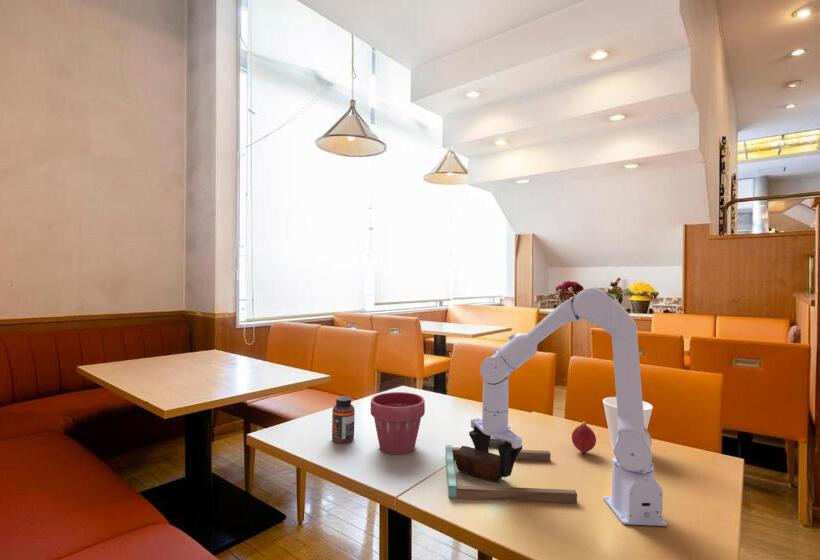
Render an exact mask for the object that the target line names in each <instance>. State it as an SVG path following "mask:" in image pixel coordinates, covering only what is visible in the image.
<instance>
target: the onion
mask: <svg viewBox="0 0 820 560" xmlns="http://www.w3.org/2000/svg"><path fill="white" fill-rule="evenodd" d="M571 442H572V443H573V447H575V449H577V450H578V451H579V452H580V453H582V454H586V453H588V452H589V451H591V450H592V449H594V447H595V446H596V443H597V437H596V434H595V432H594V430H592V428H590V426H588V425H587V422H586V421H581V424H580V425H578V426H576V427H575V429H574V430H573V432H572V433H571Z"/></svg>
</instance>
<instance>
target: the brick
mask: <svg viewBox="0 0 820 560" xmlns="http://www.w3.org/2000/svg"><path fill="white" fill-rule="evenodd" d="M459 448H460V449H459V451H458V452H457V453H456V458H455V466H456V468H457V470H458V471H459V472H462V473H465V474H468V475H469V476H470V475H471V476H474V477H478V478H481V479H483V480H487V481H491V482H494V483H499V482H500V480H501V479H502V478H503V477H502V474H501V460H500V455H499V454H496V453H492V452H490V451H489V452H485V451H481V450H478V449H474V448H475V447H470V446H467V445H461V447H459Z"/></svg>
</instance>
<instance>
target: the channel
mask: <svg viewBox="0 0 820 560" xmlns="http://www.w3.org/2000/svg"><path fill="white" fill-rule="evenodd" d="M501 444H504V442H503V441H501V440H499V439H497V438H495V437H493V436H491V438H490V442H489V447H493V446H494V447H495V446H496V448H497V446H498V445H501ZM460 448H461V447H454V446H453V445H452V444H445V466H446V478H447V492H448V493H447V494H448V498H449V499H464V500H465V499H466V500H482V501H483V500H484V501H485V500H486V501H489V500H490V501H506V500H510V501H511V502H528V501H531V502H533V503H534V502H535V503H551V502H560V503H559V504H574V503H577V504H578V492H577V491H576V489H560V488H559V489H558V488H557V489H556V488H536V487H534V488H533V487H517V486H516V487H513V486H512V487H511V486H492V485H491V486H490V485H468V484H467V485H465V484H464V485H463V484H457V479H456V470H455V462H454V458H455V459H456V453H457V452H458V451H459V449H460ZM473 448H474V449H475V447H473ZM488 452H489V453H490V450H488ZM551 455H552V454H551V452H550V451H549V450H535V449H534V450H532V449H522V450H521V451H520V453H519V454H518V456H517V458H516V460H515V461H524V460H532V462H549V461H550V462H551ZM533 460H534V461H533ZM535 460H536V461H535ZM510 501H509V502H510ZM531 502H530V503H531Z"/></svg>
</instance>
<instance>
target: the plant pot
mask: <svg viewBox="0 0 820 560" xmlns="http://www.w3.org/2000/svg"><path fill="white" fill-rule="evenodd" d="M425 403H426V402H425V397H423V396H422V395H419V394H417V393H413V392H407V391H406V392H403V391H396V392H394V391H393V392H384V393H380V394H376V395H374V396H372V397H371V399H370V415H371V416H372V417H373V419H374V425H375V430H376V435H377V439H378V440H377V441H378V445H379V449H380V450H381V451H382V452H384V453H387V454H390V455H404V454H409V453H411V452H412V451H414V450H415V448H416V443H417V438H418V434H419V430H420V425H421V420H422V418H423V417H424V415H425V414H426V413H425V412H426V411H425V409H426V407H425V405H426V404H425Z"/></svg>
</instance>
